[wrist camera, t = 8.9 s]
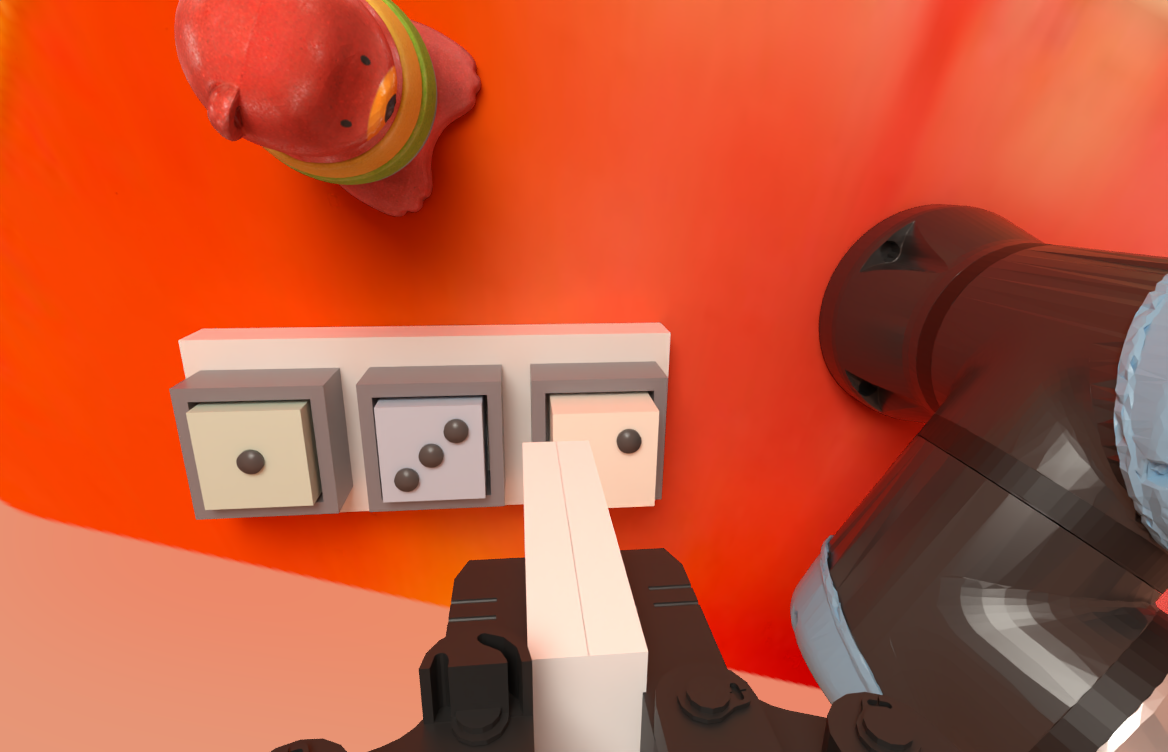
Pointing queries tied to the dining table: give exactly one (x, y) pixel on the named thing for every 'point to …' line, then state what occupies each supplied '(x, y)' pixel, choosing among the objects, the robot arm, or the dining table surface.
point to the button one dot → (255, 453)
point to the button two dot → (613, 439)
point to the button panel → (415, 392)
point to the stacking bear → (330, 88)
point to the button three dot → (432, 447)
